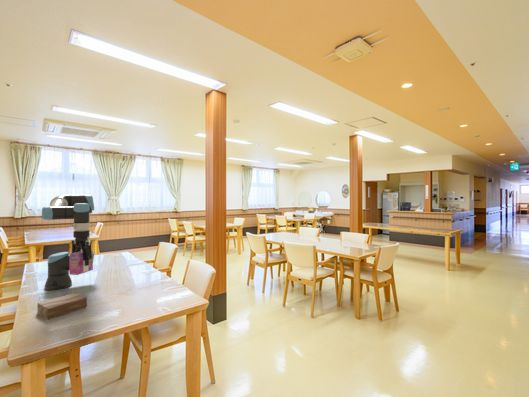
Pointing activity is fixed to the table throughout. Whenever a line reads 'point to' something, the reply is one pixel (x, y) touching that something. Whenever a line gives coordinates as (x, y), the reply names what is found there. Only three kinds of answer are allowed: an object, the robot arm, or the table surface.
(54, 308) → the block
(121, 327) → the table surface
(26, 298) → the table surface
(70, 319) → the table surface
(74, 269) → the box
